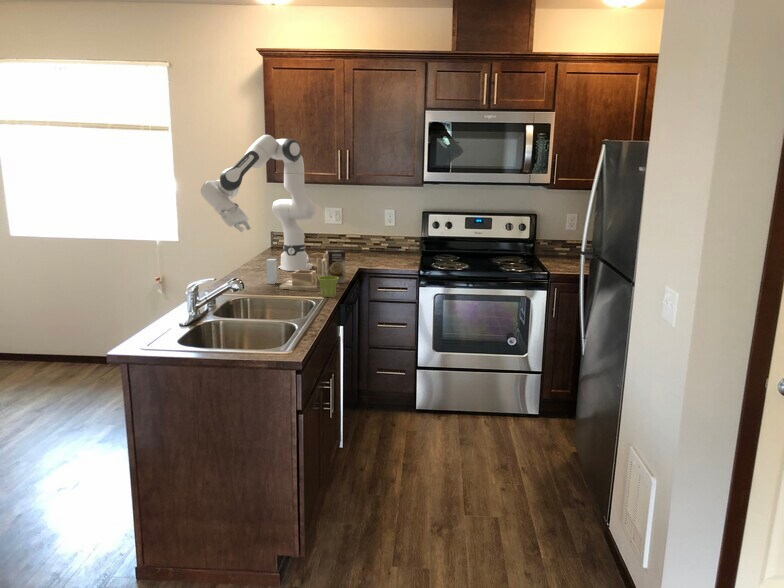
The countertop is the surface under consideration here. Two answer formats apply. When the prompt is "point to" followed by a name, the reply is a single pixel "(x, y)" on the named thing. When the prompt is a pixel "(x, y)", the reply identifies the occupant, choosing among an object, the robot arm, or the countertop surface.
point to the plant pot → (328, 285)
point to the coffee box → (336, 264)
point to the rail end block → (271, 271)
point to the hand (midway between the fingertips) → (246, 230)
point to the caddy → (308, 277)
